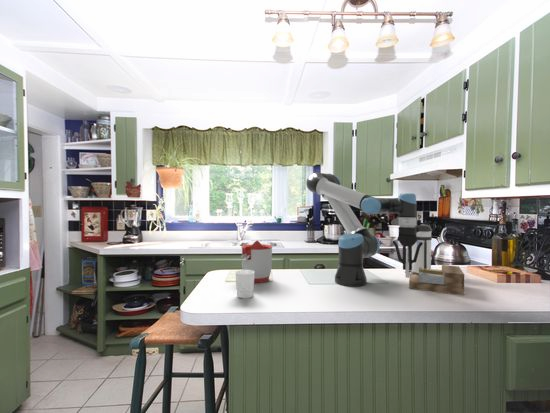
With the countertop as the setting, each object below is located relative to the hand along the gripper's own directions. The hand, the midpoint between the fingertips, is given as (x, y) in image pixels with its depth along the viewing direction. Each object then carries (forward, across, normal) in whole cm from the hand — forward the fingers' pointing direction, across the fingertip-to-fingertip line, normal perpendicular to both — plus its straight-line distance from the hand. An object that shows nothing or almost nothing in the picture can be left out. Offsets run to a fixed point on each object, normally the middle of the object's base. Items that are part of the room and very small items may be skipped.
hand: (407, 276), depth 130 cm
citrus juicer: (+4, -68, -24) cm, 72 cm away
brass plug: (+2, +10, +11) cm, 15 cm away
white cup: (+4, -60, -46) cm, 76 cm away
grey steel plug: (+2, +10, 0) cm, 10 cm away
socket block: (+5, +11, +6) cm, 13 cm away
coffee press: (+5, +5, +31) cm, 32 cm away
